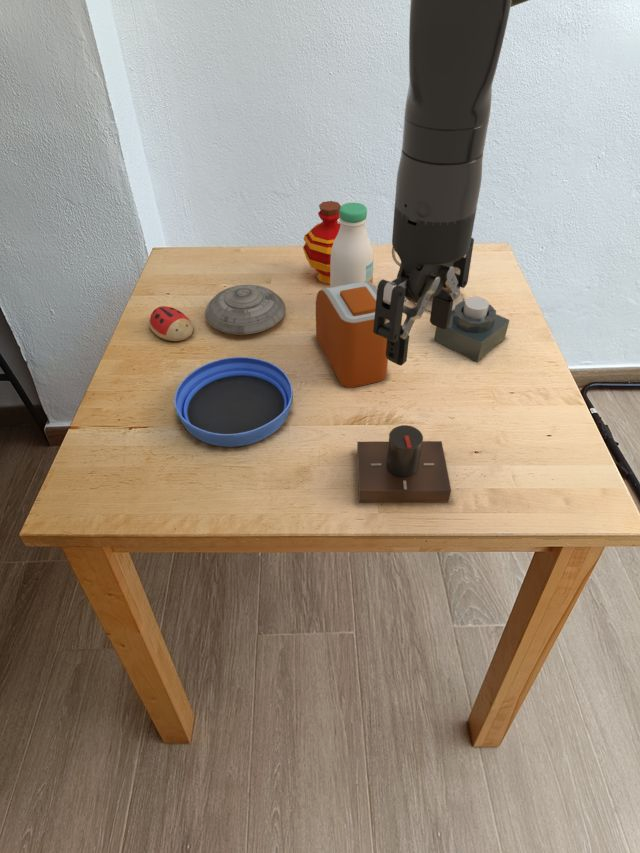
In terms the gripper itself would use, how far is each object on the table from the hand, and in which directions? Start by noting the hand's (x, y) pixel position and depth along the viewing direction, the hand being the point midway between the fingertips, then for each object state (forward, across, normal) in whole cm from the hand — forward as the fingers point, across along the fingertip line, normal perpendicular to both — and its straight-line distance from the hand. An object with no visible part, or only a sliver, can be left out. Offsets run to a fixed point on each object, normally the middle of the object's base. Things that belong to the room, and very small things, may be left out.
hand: (418, 343), depth 65 cm
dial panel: (+23, 0, 0) cm, 23 cm away
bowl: (+23, +5, -28) cm, 37 cm away
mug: (+23, -40, -23) cm, 52 cm away
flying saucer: (+23, -13, -45) cm, 52 cm away
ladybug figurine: (+23, -2, -52) cm, 57 cm away
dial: (+21, 0, 0) cm, 21 cm away
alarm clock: (+23, -16, -22) cm, 36 cm away
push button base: (+23, -34, -9) cm, 42 cm away
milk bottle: (+23, -28, -31) cm, 48 cm away
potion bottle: (+23, -34, -42) cm, 59 cm away
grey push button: (+17, -34, -9) cm, 39 cm away
